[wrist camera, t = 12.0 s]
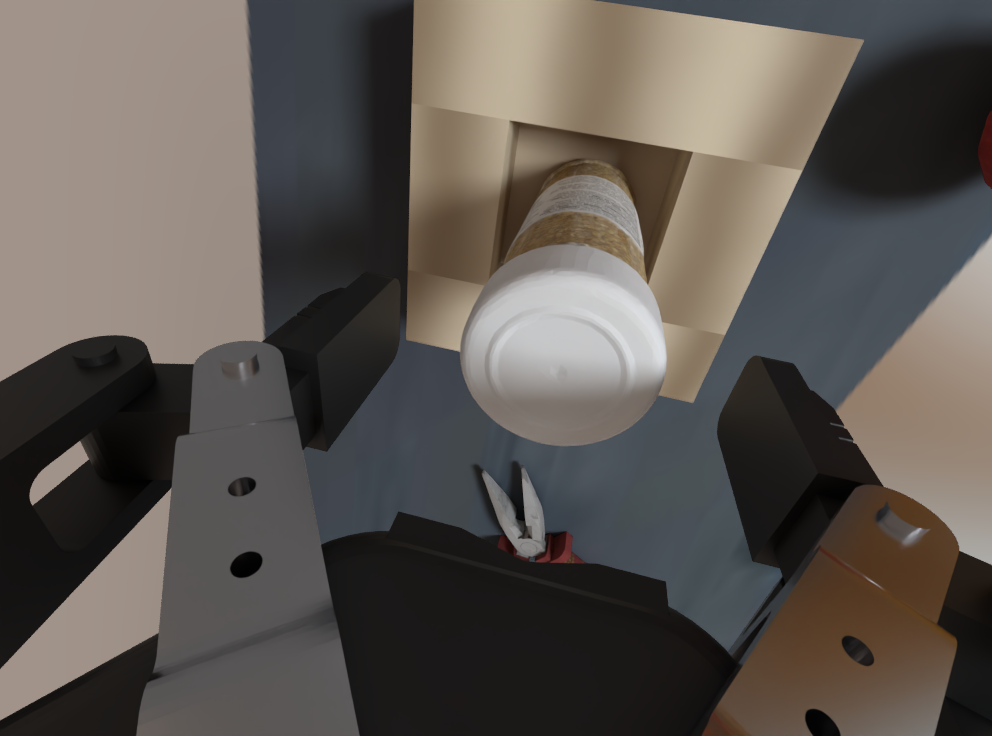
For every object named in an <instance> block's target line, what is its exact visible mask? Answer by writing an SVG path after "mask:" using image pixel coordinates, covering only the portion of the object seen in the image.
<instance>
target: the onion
mask: <svg viewBox="0 0 992 736" xmlns="http://www.w3.org/2000/svg"><path fill="white" fill-rule="evenodd" d="M978 157H979V161H980V165H981V169H982V172H983V176H984V180H985V183H986V184H987V185H988V186H989V187H990V188H991V189H992V110H991V112H990V113H989V114H988V117H987V120H986V123H985V127H984V130H983V133H982V136H981V139H980V142H979V149H978Z"/></svg>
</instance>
